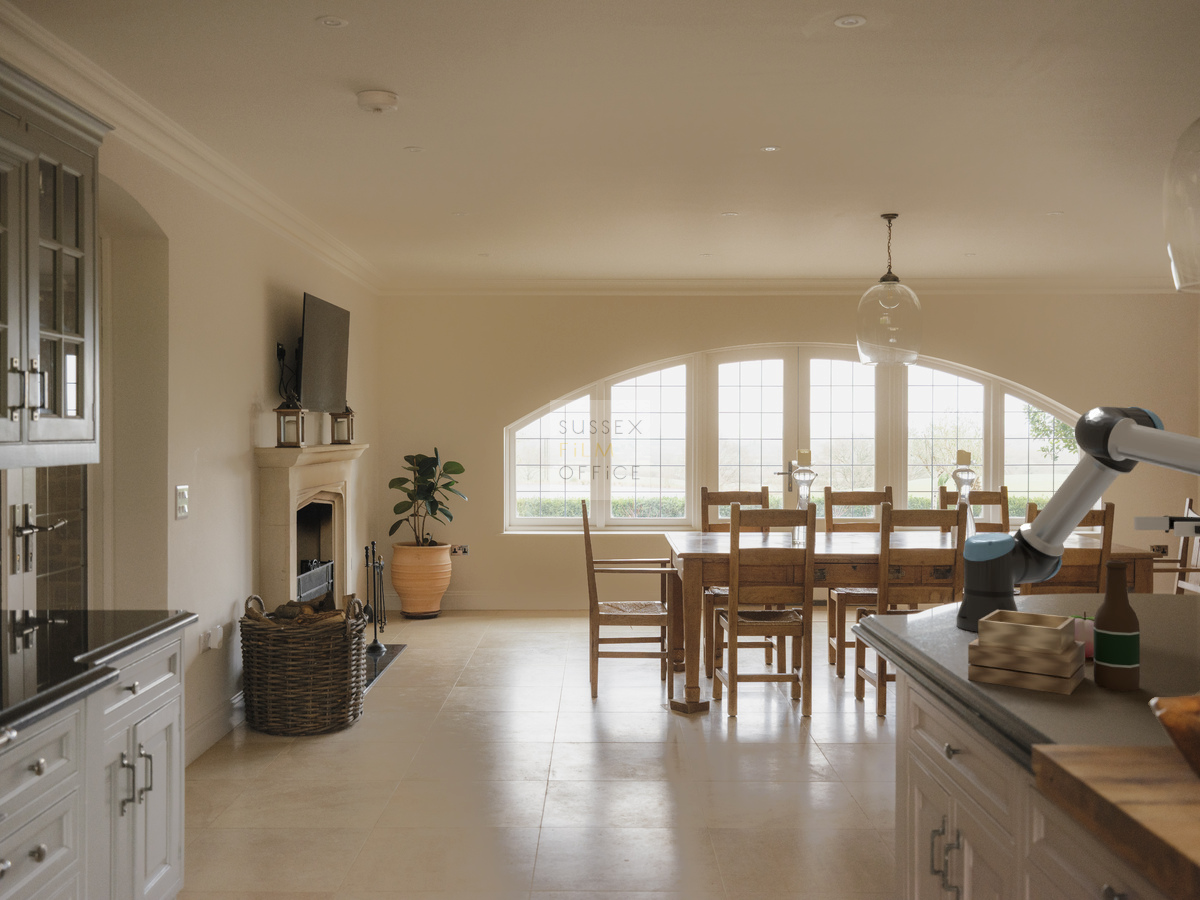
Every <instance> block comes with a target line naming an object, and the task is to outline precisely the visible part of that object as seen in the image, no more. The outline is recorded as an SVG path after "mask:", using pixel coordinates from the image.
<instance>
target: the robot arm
mask: <svg viewBox="0 0 1200 900" xmlns="http://www.w3.org/2000/svg"><path fill="white" fill-rule="evenodd" d="M1074 438H1075V442H1076V443H1077V445H1078V447H1079V448H1080V449H1081V450H1082V452H1084V453H1085V454H1084V455H1083V457H1082V458H1081V459H1080V460H1079V461H1078V462H1077V464H1076V465H1075V467H1074V468H1073V470H1072V471H1071V472H1070V474H1068V475H1067V478H1065V480H1064V481H1063V483H1062V484H1061V485H1060V486H1059V488H1057V490H1056V491H1055V493H1054V494H1053V495H1052V497H1051V498H1050V499H1049V501H1048V502H1047V503H1046V504H1045V505H1044V507H1043V508H1042V509H1041V511H1040V512H1039V513H1038V514H1037V516H1036V517H1035V518H1034V519H1033V521H1032V522H1027V523H1023V524H1022V525H1021V526H1020V527H1019V529H1018V530H1016V532H1015V533H1014V534H1013V536H1012V535H1010V534H1008V533H999V532H997V533H993V532H992V533H980V534H975V535H972V536H969V537H968V538H966V540H965V541H964V548H963V553H962V555H963V597H962V600H961V602H960V603H961V604H960V607H959V609H958V612H957V615H956V627H958V628H959V629H963V630H964V631H965V630H966V631H971V632H977V633H978V620H980V619H982V618H983V617H985V616H987V615H989V614H990V613H992V612H994V611H996V610H1006V611H1016V612H1019V610H1018V607H1017V604H1016V601H1015V585H1017V584H1018V585H1019V584H1030V583H1031V584H1032V583H1036V584H1037V583H1041V582H1044V581H1048V580H1051V578H1053V577H1054V576H1056V575H1057V574H1058V572H1059V571H1060V569H1061V567H1062V565H1063V560H1062V557H1063V554H1064V553H1065V547H1064V543H1065V542H1066V540H1067V539H1068V538H1069V537H1070V535H1071V534H1072V533H1073V532H1074V530H1075V529H1076V528H1077V526H1078V525H1079V524H1080V523H1081V522H1082V521H1083V519H1084V518H1085V517H1086V516H1087V515H1088V513H1089V512H1090V511H1091V510H1092V509H1093V508H1094V506H1095V505H1096V504H1097V502H1098V501H1099V500H1100V499H1101V497H1102V496H1103V495H1104V494H1105V492H1106V491H1107V490H1108V489H1109V488H1110V487H1111V486H1112V484H1113V483H1114V482H1115V480H1116V479H1117V477H1118V476H1119V475H1123V474H1124V475H1125V474H1126V475H1127V474H1130V473H1132V471H1133V470H1134V468H1135V467H1136V466H1137V465H1138V464H1139V463H1140V462H1141V463H1144V464H1149V465H1153V466H1157V467H1162V468H1164V469H1169V470H1172V471H1178V472H1181V473H1185V474H1188V475H1189V474H1190V475H1194V476H1198V477H1200V437H1196V436H1190V435H1187V434H1181V433H1176V432H1173V431H1168V430H1165V426H1164V423H1163V421H1162V420H1161V418H1160V416H1158V415H1157V414H1156V413H1155V412H1154V411H1151V410H1150V409H1146V408H1141V407H1138V406H1129V407H1122V406H1121V407H1117V406H1099V407H1094V408H1092V409H1090V410H1087V411H1086V412H1084V413H1083V414H1082V415H1081V416H1080V417H1079V419H1078V420H1077V422H1076V424H1075V428H1074ZM1133 523H1134V524H1133V526H1134V527H1133V529H1134V530H1133V531H1164V532H1165V533H1166V534H1167V533H1170V530H1173V536H1174V537H1176V538H1177V537H1179V538H1180V537H1181V538H1183V537H1187V538H1188V537H1189V538H1190V537H1191V538H1193V537H1194V538H1196V537H1197V538H1198V537H1200V516H1173V515H1171V516H1169V515H1163V516H1133Z"/></svg>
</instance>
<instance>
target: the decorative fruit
mask: <svg viewBox="0 0 1200 900" xmlns="http://www.w3.org/2000/svg"><path fill="white" fill-rule="evenodd" d="M1067 617H1075V641H1080V642H1085V659H1086V658H1089V657H1092V656H1094V617H1095V616H1087V613H1086V611H1084V612H1083V616H1082V615H1078V614H1077V615H1068V616H1067Z"/></svg>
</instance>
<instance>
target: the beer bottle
mask: <svg viewBox="0 0 1200 900" xmlns="http://www.w3.org/2000/svg"><path fill="white" fill-rule="evenodd" d="M1105 567H1106V578H1105V593H1104V594H1105V595H1104V599H1103V602H1102V603H1101V605H1100V606H1099V607H1098V608H1097V610H1096V613H1095V615H1094V616H1093V617H1094V655H1093V680H1094V681H1093V682H1094V683H1095V685H1096V686H1097V687H1098V688H1103V689H1107V690H1111V691H1117V692H1118V691H1119V692H1120V691H1121V692H1132V691H1136V690H1139V688H1140V679H1141V678H1140V677H1141V674H1140V673H1141V669H1140V667H1141V666H1140V665H1141V663H1140V662H1141V660H1140V659H1141V657H1140V655H1141V654H1140V653H1141V649H1140V648H1141V646H1140V644H1141V641H1140V640H1141V638H1140V637H1141V636H1140V635H1141V634H1140V633H1141V631H1140V621H1139V619H1138V615H1137V613H1136V612H1135V610H1134V609H1133V607H1132V606H1131V605H1130V601H1129V596H1128V593H1129V592H1128V583H1127V582H1128V581H1127V569H1128V567H1129V566H1128V563H1127V561H1124V560H1117V559H1111V560H1106V562H1105Z"/></svg>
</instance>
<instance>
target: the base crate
mask: <svg viewBox="0 0 1200 900" xmlns="http://www.w3.org/2000/svg"><path fill="white" fill-rule="evenodd" d="M967 646H968V647H967V648H968V649H967V652H968V653H967V656H968V657H967V661H968V662H967V663H968V664H969V665H967V672H968V673H967V676H968V677H967V678H968V679H967V680H968V681H973V682H980V683H981V682H982V683H988V684H994V685H1001V686H1007V687H1009V686H1010V687H1015V688H1022V689H1028V690H1035V691H1041V692H1042V691H1043V692H1050V693H1055V694H1062V695H1068V696H1070V695H1072V693H1073V691H1075V689H1076V688H1077V687H1078V686H1079V685H1080V684H1081V682H1082V681H1083V680H1084V679H1085V678H1086V663H1085V662H1086V658H1085V642H1080V641H1075V642H1074V643H1073V644H1072V645H1071V646H1070V647H1068V648H1067V649H1066V650H1065V651H1064V652H1063V653H1062V654H1061V655H1056V654H1048V653H1040V652H1032V651H1024V650H1016V649H1008V648H1000V647H992V646H984V645H978V637H977V638H976V639H974V640H972V641H971V642H970V643H968V645H967Z"/></svg>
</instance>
